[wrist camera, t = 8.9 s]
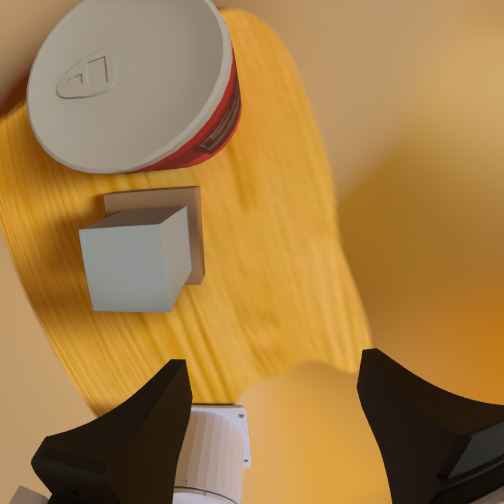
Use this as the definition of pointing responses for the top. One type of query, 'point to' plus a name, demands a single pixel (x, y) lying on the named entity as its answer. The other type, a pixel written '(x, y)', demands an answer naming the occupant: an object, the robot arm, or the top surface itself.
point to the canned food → (135, 86)
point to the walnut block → (167, 199)
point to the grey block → (137, 259)
